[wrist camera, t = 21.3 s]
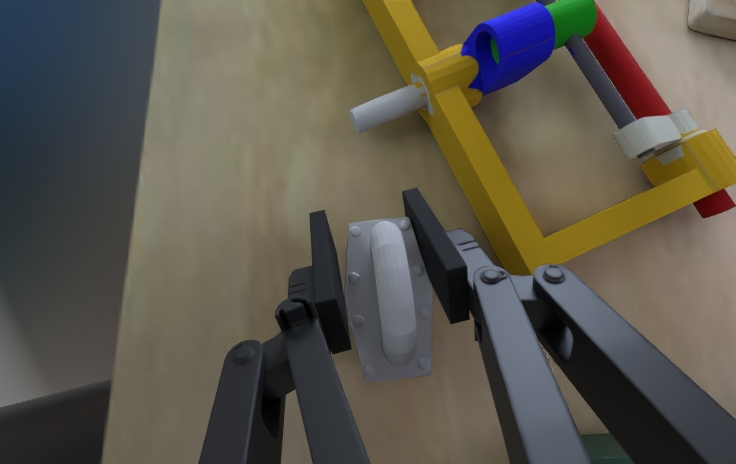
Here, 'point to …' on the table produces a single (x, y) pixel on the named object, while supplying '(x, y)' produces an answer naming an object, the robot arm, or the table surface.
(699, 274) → the table surface
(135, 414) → the table surface
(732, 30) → the peg board
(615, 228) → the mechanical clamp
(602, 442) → the green rectangular block
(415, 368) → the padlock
